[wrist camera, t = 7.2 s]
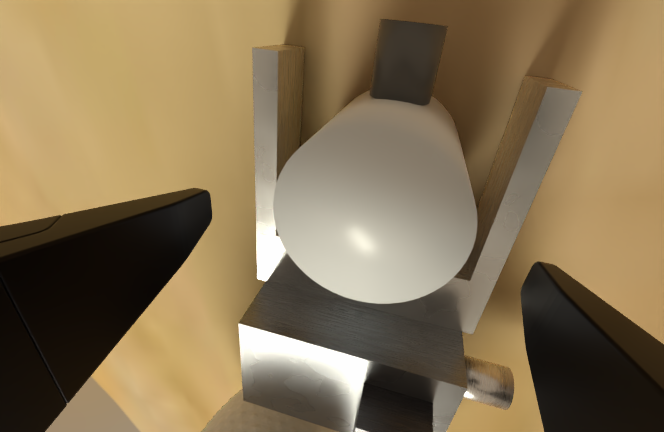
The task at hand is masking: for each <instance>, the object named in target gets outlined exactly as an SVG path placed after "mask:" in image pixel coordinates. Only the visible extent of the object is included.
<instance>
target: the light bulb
mask: <svg viewBox="0 0 664 432" xmlns="http://www.w3.org/2000/svg"><path fill="white" fill-rule="evenodd" d="M447 28H448V26H442V25H434V24H425V23H416V22H407V21H398V20H388V19H380V26H379V33H378V39H377V46H376V53H375V60H374V67H373V74H372V80H371V87H370V90H368V91H366V92H364V93H362V94H360V95H359V96H358V97H356V98H355V99H353V100H352V101H351V102H350V103H349V104H348V105H347V106H346V107H344V108H343V109H342V110H341V111H340V112H339V113H338V114H337V115H336V116H334V117H333V118H332V119H331V120H330V121H329V122H328V123H327V124H325V125H324V126H323V127H322V128H321V129H320V130H319V131H318V132H317V133H315V134H314V135H313V136H312V137H311V138H310V139H309V140H308V141H307V142H305V143H304V144H303V145H302V146H301V147H300V148H299V149H298V150H297V151H296V152H294V154H293V155H292V156H291V157H290V159H289V160H288V161H287V162H286V164H285V166H284V168H283V169H282V171H281V173H280V175H279V178H278V180H277V183H276V187H275V192H274V199H273V213H274V220H275V226H276V229H277V232H278V235H279V238H280V240H281V242H282V244H283V246H284V248H285V250H286V251H287V253H288V254H289V256H290V257H291V259H292V260H293V261H294V262H295V264H296V265H297V266H298V267H299V268H300V269H301V270H302V271H303V272H304V273H305V274H306V275H307V276H309V277H310V278H311V279H312V280H313V281H315V282H316V283H318V284H319V285H321V286H322V287H324V288H326V289H328V290H330V291H332V292H334V293H336V294H338V295H341V296H343V297H346V298H349V299H353V300H357V301H362V302H367V303H376V304H391V303H401V302H406V301H411V300H414V299H417V298H420V297H423V296H426V295H428V294H430V293H432V292H434V291H436V290H437V289H439V288H441V287H442V286H444V285H445V284H446V283H447V282H449V281H450V280H451V279H452V278H453V277H454V276H455V275H456V274H457V273H458V272H459V271H460V270H461V268H462V267H463V265H464V264H465V262H466V261H467V259H468V257H469V255H470V253H471V251H472V249H473V245H474V242H475V239H476V233H477V209H476V204H475V199H474V195H473V191H472V187H471V183H470V179H469V175H468V171H467V167H466V163H465V159H464V155H463V151H462V147H461V143H460V139H459V135H458V131H457V128H456V126H455V123H454V121H453V119H452V117H451V115H450V114H449V112H448V111H447V110H446V108H445V107H444V106H443V105H442V104H441V103H440V102H439V101H438V100H437V99H435V98H434V97H433V96H432V91H433V87H434V83H435V79H436V75H437V70H438V66H439V62H440V58H441V53H442V49H443V45H444V41H445V36H446V32H447Z"/></svg>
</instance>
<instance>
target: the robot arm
mask: <svg viewBox="0 0 664 432" xmlns="http://www.w3.org/2000/svg"><path fill="white" fill-rule="evenodd" d="M211 220H212V207H211V197H210V193H209V192H208V191H207V190H203V189H199V188H191V189H187V190H182V191H177V192H172V193H167V194H162V195H157V196H152V197H147V198H142V199H137V200H132V201H127V202H122V203H118V204H113V205H108V206H103V207H98V208H93V209H88V210H83V211H78V212H73V213H68V214H64V215H62V216H61V215H58V216H53V217H48V218H43V219H38V220H33V221H28V222H23V223H17V224H12V225H6V226H0V432H45V431H46V430H47V429H48V427H49V426H50V425H51V424H52V423H53V421H54V420H55V419H56V418H57V417H58V415H59V414H60V413H61V412H62V410H63V409H64V408H65V407H66V405H67V404H66V403H69V402H70V400H71V399H72V398H73V397H74V396H75V394H76V393H77V392H78V391H79V390H80V388H81V387H82V386H83V385H84V383H85V382H86V381H87V380H88V379H89V377H90V376H91V375H92V374H93V373H94V371H95V370H96V369H97V368H98V366H99V365H100V364H101V363H102V362H103V360H104V359H105V358H106V357H107V356H108V354H109V353H110V352H111V351H112V349H113V348H114V347H115V346H116V345H117V343H118V342H119V341H120V340H121V339H122V337H123V336H124V335H125V334H126V333H127V331H128V330H129V329H130V328H131V326H132V325H133V324H134V323H135V322H136V320H137V319H138V318H139V317H140V316H141V314H142V313H143V312H144V311H145V309H146V308H147V307H148V306H149V305H150V303H151V302H152V301H153V300H154V299H155V297H156V296H157V295H158V294H159V292H160V291H161V290H162V289H163V288H164V286H165V285H166V284H167V283H168V282H169V280H170V279H171V278H172V277H173V275H174V274H175V273H176V272H177V271H178V269H179V268H180V267H181V266H182V264H183V263H184V262H185V260H186V259H187V258H188V256H189V255H190V253H191V252H192V250H193V249H194V247H195V246H196V244H197V243H198V241H199V240H200V238H201V236H202V235H203V233H204V232H205V230H206V229H207V227H208V226H209V224H210V222H211ZM521 304H522V315H523V326H524V336H525V345H526V351H527V356H528V361H529V365H530V370H531V374H532V379H533V383H534V388H535V392H536V397H537V401H538V405H539V410H540V414H541V419H542V423H543V428H544V432H664V344H662V343H661V342H660V341H658V340H657V339H655V338H654V337H653V336H651V335H650V334H649V333H647V332H646V331H645V330H643V329H642V328H640V327H639V326H638V325H636V324H635V323H634V322H632V321H631V320H629V319H628V318H627V317H625V316H624V315H623V314H621V313H620V312H619V311H617V310H616V309H614V308H613V307H612V306H610V305H609V304H608V303H606V302H605V301H603V300H602V299H601V298H599V297H598V296H597V295H595V294H594V293H593V292H591V291H590V290H588V289H587V288H586V287H584V286H583V285H582V284H580V283H579V282H578V281H576V280H575V279H573V278H572V277H571V276H569V275H568V274H567V273H565V272H564V271H562V270H561V269H560V268H558V267H557V266H555V265H553V264H549V263H544V262H536V263H534V265H533V266H532V268H531V270H530V272H529V274H528V276H527V277H526V279H525V281H524V283H523V285H522V288H521Z"/></svg>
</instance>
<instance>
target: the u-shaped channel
mask: <svg viewBox="0 0 664 432" xmlns="http://www.w3.org/2000/svg"><path fill="white" fill-rule="evenodd" d="M252 53H253V99H254V146H255V192H256V239H257V279H260V280H264V281H266V282H265V284H264V285H263V287H262V288H261V290H260V291H259V293H258V294H257V296H256V297H255V299H254V300H253V302H252V304H251V305H250V307H249V308H248V310H247V311H246V313H245V314H244V316H243V317H242V319H241V320H240V322H239V339H240V354H241V370H242V386H243V401H246V402H249V403H252V404H255V405H258V406H261V407H264V408H268V409H271V410H274V411H277V412H280V413H283V414H286V415H289V416H292V417H295V418H298V419H301V420H304V421H307V422H310V423H313V424H317V425H320V426H323V427H326V428H329V429H332V430H335V431H338V432H446V431H447V429H448V427H449V425H450V423H451V421H452V419H453V417H454V415H455V413H456V411H457V409H458V407H459V405H460V403H461V401H462V399H463V398H465V399H469V400H472V401H476V402H479V403H483V404H486V405H489V406H493V407H496V408H500V409H503V410H507V409H508V408H509V407H510V405H511V403H512V399H513V394H514V379H513V374H512V371H511V370H510V368H508V367H505V366H502V365H498V364H494V363H490V362H487V361H483V360H479V359H476V358H472V357H468V356H464V348H463V338H462V332H465V333H469V334H473V333H474V330H475V328H476V326H477V324H478V322H479V319H480V317H481V315H482V313H483V311H484V308H485V306H486V304H487V302H488V299H489V297H490V295H491V293H492V291H493V288H494V286H495V284H496V282H497V280H498V277H499V275H500V273H501V271H502V268H503V266H504V264H505V262H506V260H507V257H508V255H509V253H510V251H511V249H512V246H513V244H514V242H515V240H516V238H517V235H518V233H519V231H520V229H521V226H522V224H523V222H524V220H525V218H526V215H527V213H528V211H529V209H530V207H531V204H532V202H533V200H534V198H535V195H536V193H537V191H538V189H539V187H540V184H541V182H542V180H543V178H544V176H545V173H546V171H547V169H548V167H549V164H550V162H551V160H552V158H553V156H554V153H555V151H556V149H557V147H558V145H559V142H560V140H561V138H562V136H563V133H564V131H565V129H566V127H567V125H568V122H569V120H570V118H571V116H572V114H573V111H574V109H575V107H576V105H577V102H578V100H579V98H580V96H581V94H582V91H580V90H578V89H575V88H573V87H570V86H568V85H566V84H563V83H561V82H558V81H556V80H554V79H548V78H540V77H532V76H525V77H524V80H523V83H522V86H521V88H520V91H519V94H518V97H517V99H516V102H515V105H514V108H513V110H512V113H511V116H510V119H509V122H508V124H507V127H506V130H505V133H504V135H503V138H502V141H501V144H500V146H499V149H498V152H497V155H496V158H495V160H494V163H493V166H492V169H491V171H490V174H489V177H488V180H487V182H486V185H485V188H484V191H483V194H482V196H481V199H480V202H479V205H478V207H477V233H476V239H475V242H474V245H473V249H472V251H471V253H470V255H469V257H468V259H467V261H466V262H465V264H464V265H463V267H462V268H461V270H460V271H459V272H458V273H457V274H456V275H455V276H454V277H453V278H452V279H451V280H450V281H449V282H447V283H446V284H445V285H444V286H442V287H441V288H439V289H437V290H436V291H434V292H432V293H430V294H428V295H426V296H423V297H420V298H417V299H414V300H411V301H406V302H401V303H391V304H376V303H367V302H362V301H357V300H353V299H349V298H346V297H343V296H341V295H338V294H336V293H334V292H332V291H330V290H328V289H326V288H324V287H322V286H321V285H319V284H318V283H316V282H315V281H313V280H312V279H311V278H310V277H309V276H307V275H306V274H305V273H304V272H303V271H302V270H301V269H300V268H299V267H298V266H297V265H296V264H295V262H294V261H293V260H292V259H291V257H290V256H289V254H288V253H287V251H286V250H285V248H284V246H283V244H282V242H281V240H280V238H279V235H278V232H277V229H276V226H275V220H274V213H273V199H274V192H275V187H276V183H277V180H278V178H279V175H280V173H281V171H282V169H283V168H284V166H285V164H286V162H287V161H288V160H289V159H290V157H291V156H292V155H293V154H294V152H296V151H297V150H298V149H299V148H300V135H301V115H302V95H303V74H304V54H305V47H300V46H292V45H284V44H282V45H273V46H263V47H254V48H252Z"/></svg>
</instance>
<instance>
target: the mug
mask: <svg viewBox="0 0 664 432" xmlns="http://www.w3.org/2000/svg"><path fill="white" fill-rule="evenodd" d="M201 432H338V431H335V430H332V429H329V428H326V427H323V426H320V425H317V424H313V423H310V422H307V421H304V420H301V419H298V418H295V417H292V416H289V415H286V414H283V413H280V412H277V411H274V410H271V409H268V408H264V407H261V406H258V405H255V404H252V403H249V402H246V401H243V389H242V390H240V391H239V392H238V393H237V394H235V395H234V396H233V397H232V398H230V399H229V401H228V402H227V403H226V404H225V405H224V406H222V407H221V409H220V410H219V411H218V412H217V413H216V415H215V416H213V418H212V419H211V420H210V421H209V422H208V423H207V425H206V427H205V428H204V429H203V430H202V431H201Z"/></svg>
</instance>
